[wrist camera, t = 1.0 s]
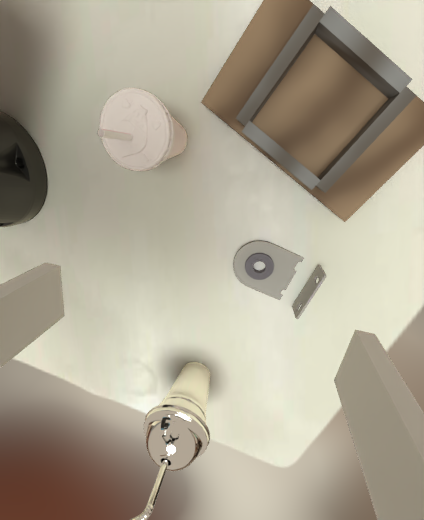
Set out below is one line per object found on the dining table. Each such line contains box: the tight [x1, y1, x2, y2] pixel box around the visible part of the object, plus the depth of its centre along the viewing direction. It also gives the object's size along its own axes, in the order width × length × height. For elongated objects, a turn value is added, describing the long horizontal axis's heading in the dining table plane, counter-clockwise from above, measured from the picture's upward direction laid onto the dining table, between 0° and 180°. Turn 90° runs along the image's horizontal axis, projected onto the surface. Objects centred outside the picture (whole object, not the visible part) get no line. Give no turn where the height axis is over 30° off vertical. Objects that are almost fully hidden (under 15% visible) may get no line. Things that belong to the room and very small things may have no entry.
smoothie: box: [97, 88, 187, 171], centre depth 25 cm, size 6×6×14 cm
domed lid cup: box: [131, 362, 210, 520], centre depth 34 cm, size 8×9×20 cm
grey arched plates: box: [233, 241, 326, 319], centre depth 33 cm, size 7×10×4 cm, turn 68°
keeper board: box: [201, 0, 424, 222], centre depth 26 cm, size 20×12×4 cm, turn 53°
